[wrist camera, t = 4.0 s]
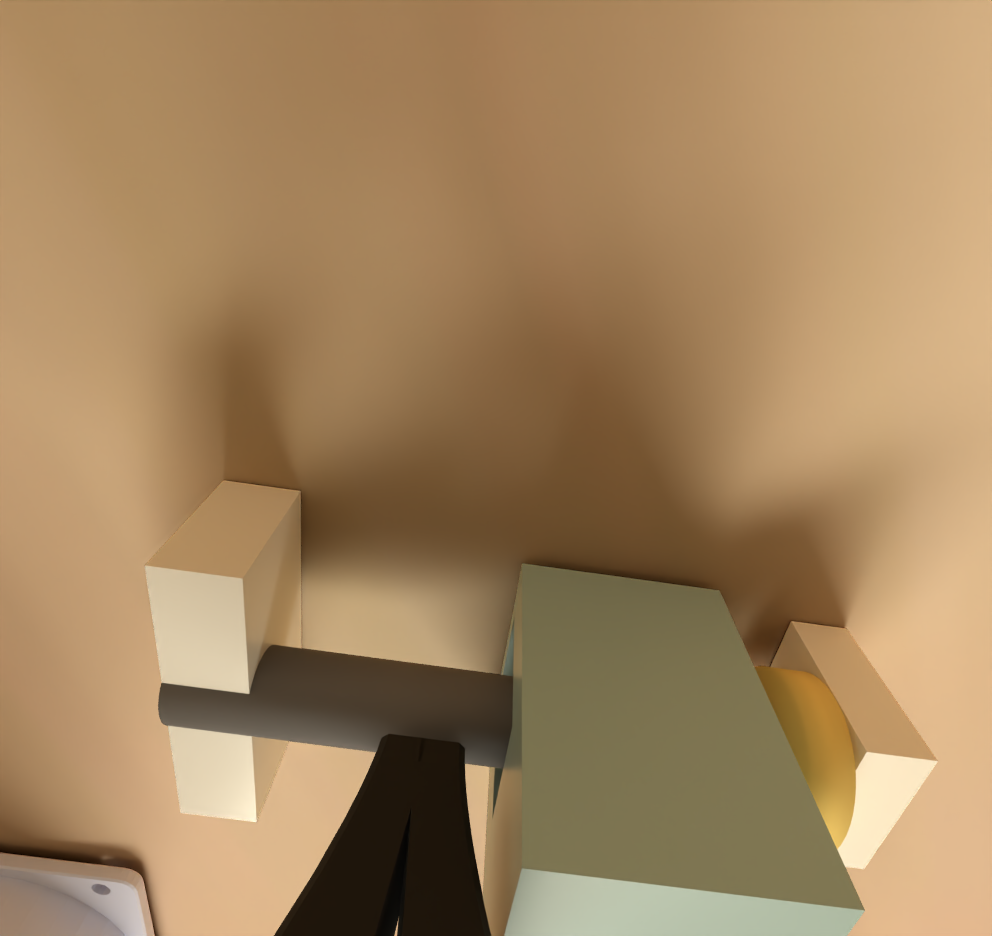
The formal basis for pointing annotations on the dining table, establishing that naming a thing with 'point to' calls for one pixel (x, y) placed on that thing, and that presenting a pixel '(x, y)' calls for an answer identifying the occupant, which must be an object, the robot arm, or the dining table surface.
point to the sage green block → (648, 776)
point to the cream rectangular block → (227, 632)
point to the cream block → (863, 733)
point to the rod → (471, 713)
